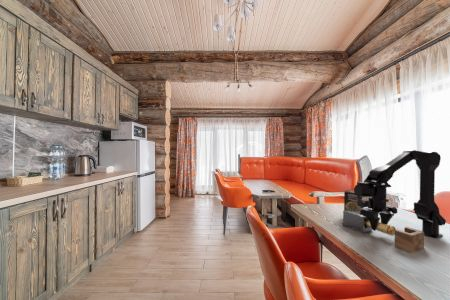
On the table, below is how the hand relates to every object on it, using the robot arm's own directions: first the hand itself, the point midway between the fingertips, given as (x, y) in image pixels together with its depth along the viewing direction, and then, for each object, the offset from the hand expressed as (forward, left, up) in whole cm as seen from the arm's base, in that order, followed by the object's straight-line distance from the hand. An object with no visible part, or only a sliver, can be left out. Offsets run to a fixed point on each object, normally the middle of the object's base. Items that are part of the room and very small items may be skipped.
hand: (378, 229), depth 98 cm
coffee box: (-11, -20, -4) cm, 23 cm away
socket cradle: (0, +12, -3) cm, 12 cm away
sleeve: (0, -10, -3) cm, 10 cm away
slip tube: (0, -4, -1) cm, 4 cm away
